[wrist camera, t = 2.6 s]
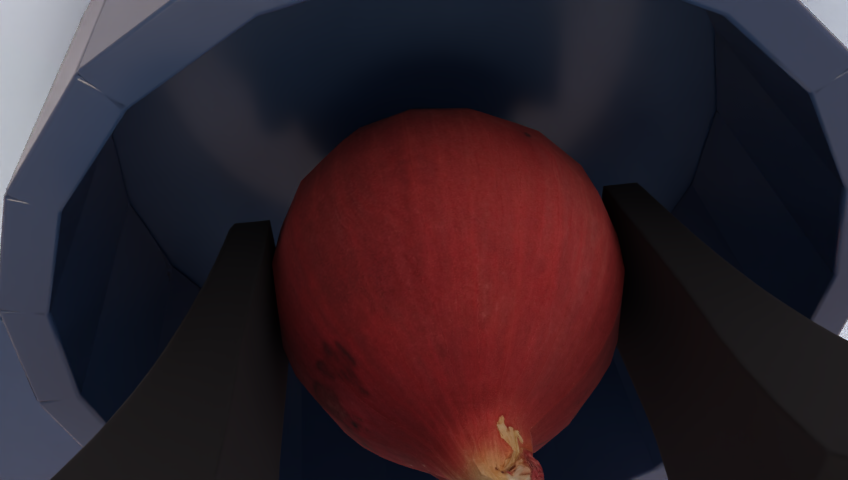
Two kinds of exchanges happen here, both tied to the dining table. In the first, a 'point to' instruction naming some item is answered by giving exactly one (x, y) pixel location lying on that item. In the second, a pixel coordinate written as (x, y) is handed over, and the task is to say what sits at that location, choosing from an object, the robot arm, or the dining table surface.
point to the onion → (449, 291)
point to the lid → (27, 425)
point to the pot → (378, 99)
